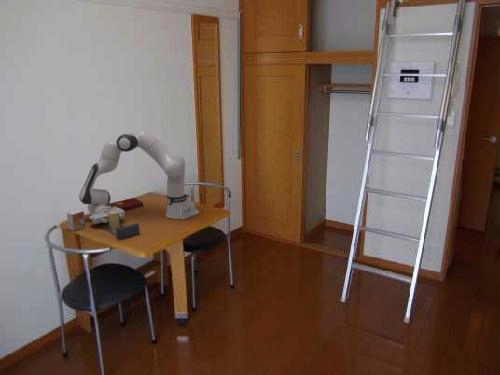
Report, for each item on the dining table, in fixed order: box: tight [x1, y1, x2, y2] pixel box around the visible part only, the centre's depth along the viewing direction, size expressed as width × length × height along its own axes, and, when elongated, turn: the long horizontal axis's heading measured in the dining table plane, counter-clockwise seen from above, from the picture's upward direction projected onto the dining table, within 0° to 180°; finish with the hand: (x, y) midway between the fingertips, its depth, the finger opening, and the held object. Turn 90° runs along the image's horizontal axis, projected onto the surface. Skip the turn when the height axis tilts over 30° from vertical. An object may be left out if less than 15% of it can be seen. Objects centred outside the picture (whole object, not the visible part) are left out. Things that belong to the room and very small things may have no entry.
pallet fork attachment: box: [102, 222, 140, 241], centre depth 250 cm, size 13×24×6 cm, turn 44°
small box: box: [66, 209, 86, 232], centre depth 252 cm, size 8×6×10 cm
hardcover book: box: [108, 197, 144, 212], centre depth 291 cm, size 12×21×4 cm, turn 135°
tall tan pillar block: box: [108, 211, 121, 231], centre depth 254 cm, size 4×4×10 cm
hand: (114, 219), depth 254 cm, fingers open, 8 cm apart
